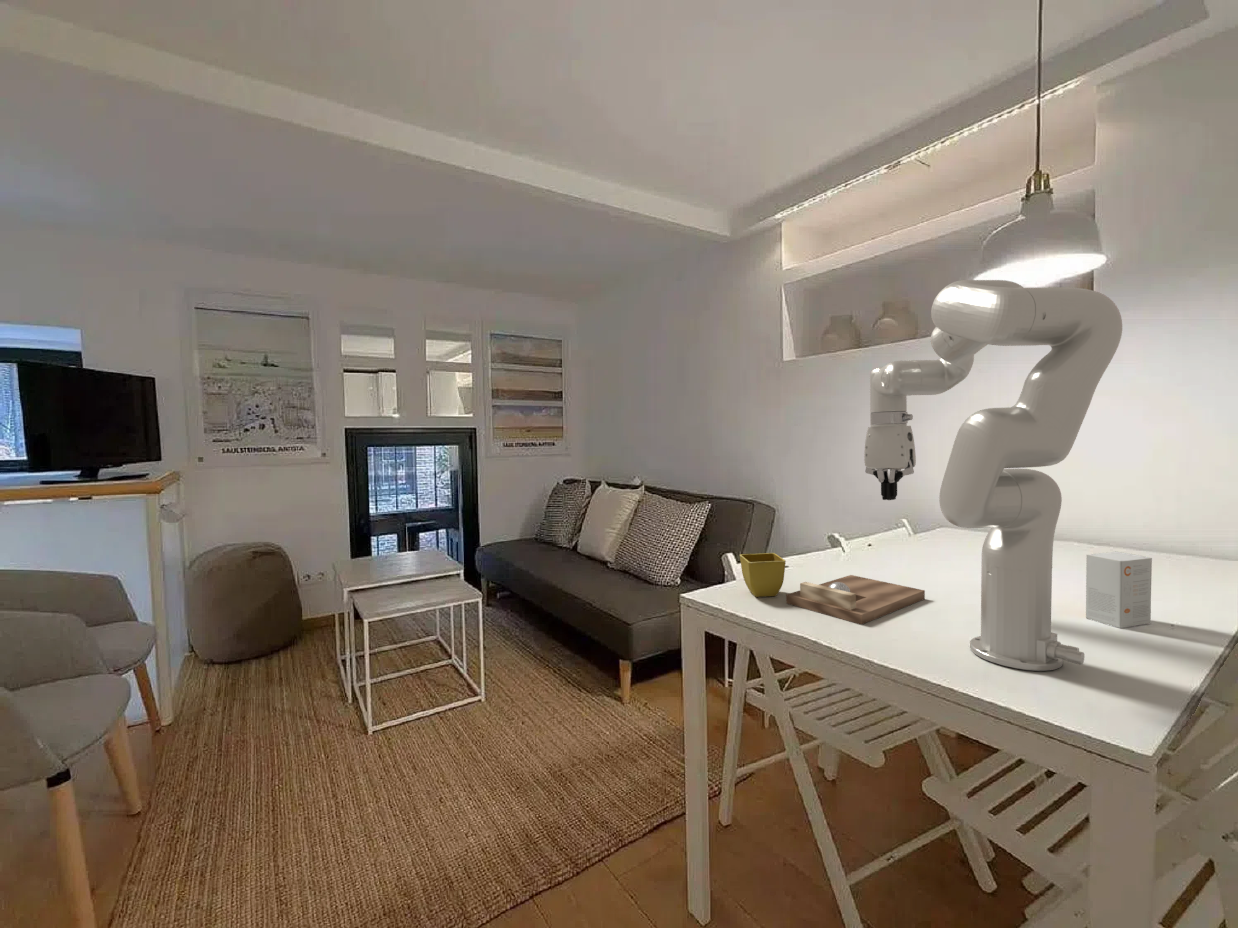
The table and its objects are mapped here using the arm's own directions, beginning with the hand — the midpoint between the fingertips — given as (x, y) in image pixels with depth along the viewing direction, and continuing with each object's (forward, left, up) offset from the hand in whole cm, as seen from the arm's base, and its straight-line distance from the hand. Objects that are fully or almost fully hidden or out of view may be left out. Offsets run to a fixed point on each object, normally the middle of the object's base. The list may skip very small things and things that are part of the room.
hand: (889, 499), depth 125 cm
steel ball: (+3, +15, -20) cm, 25 cm away
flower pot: (+19, +22, -23) cm, 37 cm away
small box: (-37, -16, -23) cm, 46 cm away
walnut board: (+2, +10, -23) cm, 25 cm away
